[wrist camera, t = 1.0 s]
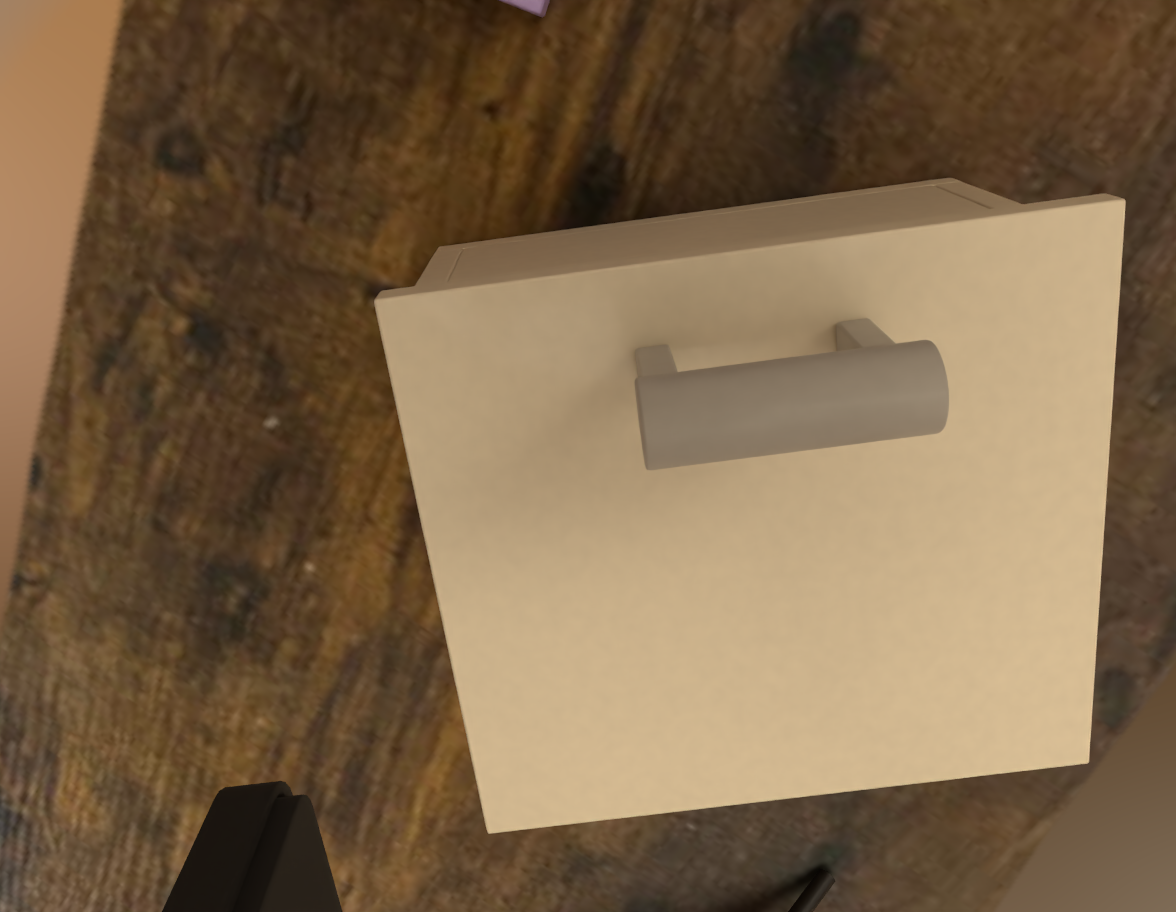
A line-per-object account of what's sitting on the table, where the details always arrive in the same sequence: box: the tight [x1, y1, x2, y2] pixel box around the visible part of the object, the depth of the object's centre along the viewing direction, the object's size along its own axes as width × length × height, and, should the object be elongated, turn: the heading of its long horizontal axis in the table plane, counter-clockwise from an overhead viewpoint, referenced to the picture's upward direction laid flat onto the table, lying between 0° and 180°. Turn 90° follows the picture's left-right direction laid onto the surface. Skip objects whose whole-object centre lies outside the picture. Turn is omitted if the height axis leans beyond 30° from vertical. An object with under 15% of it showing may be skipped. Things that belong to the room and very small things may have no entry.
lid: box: [374, 194, 1126, 833], centre depth 21 cm, size 13×15×5 cm
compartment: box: [415, 178, 1023, 286], centre depth 27 cm, size 13×15×9 cm
